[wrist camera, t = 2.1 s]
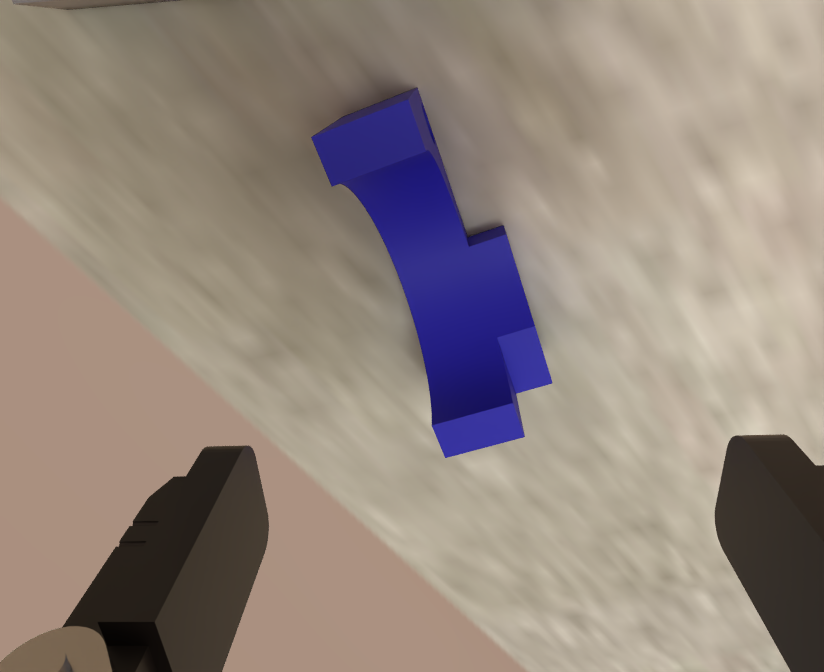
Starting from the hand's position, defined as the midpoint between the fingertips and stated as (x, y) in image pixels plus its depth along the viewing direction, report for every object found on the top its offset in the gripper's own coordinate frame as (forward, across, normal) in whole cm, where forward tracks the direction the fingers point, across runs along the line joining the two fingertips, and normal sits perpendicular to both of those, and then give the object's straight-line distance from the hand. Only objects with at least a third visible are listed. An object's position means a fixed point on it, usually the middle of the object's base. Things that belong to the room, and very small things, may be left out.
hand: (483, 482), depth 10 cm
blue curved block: (+16, 0, 0) cm, 16 cm away
